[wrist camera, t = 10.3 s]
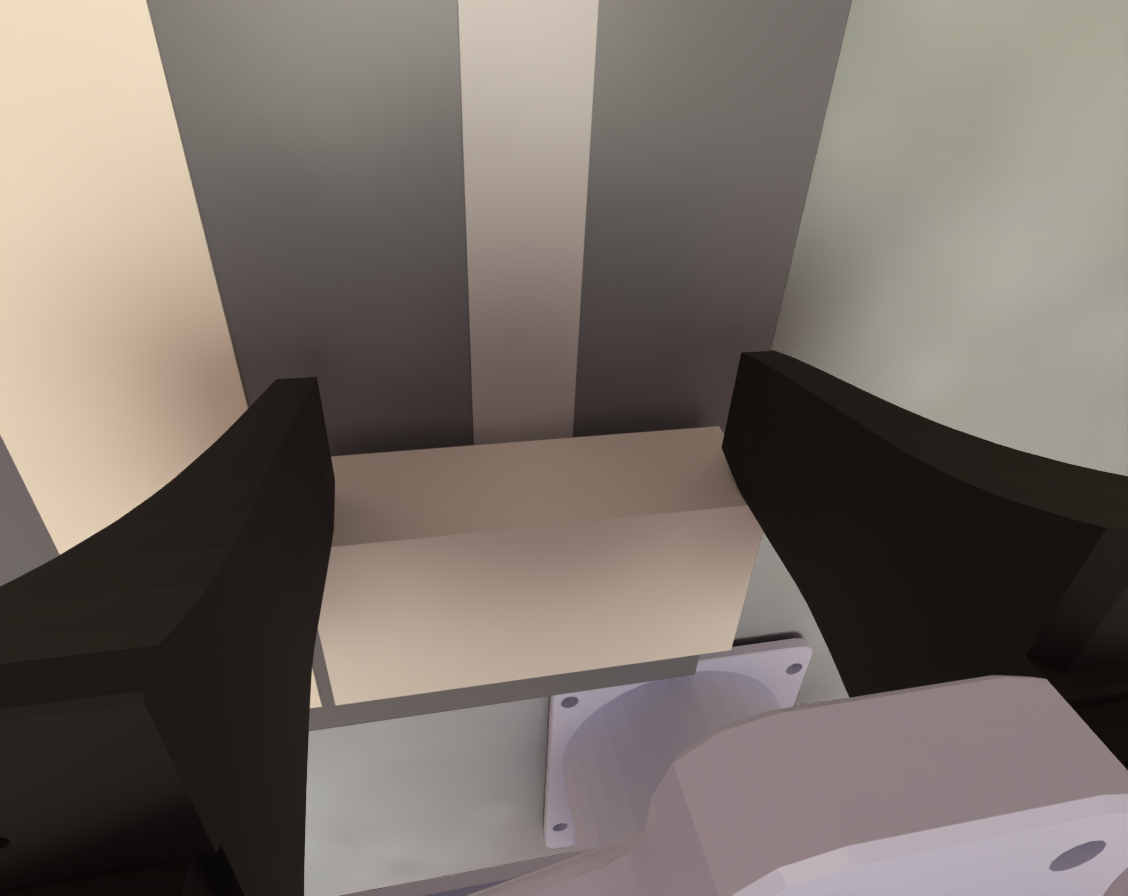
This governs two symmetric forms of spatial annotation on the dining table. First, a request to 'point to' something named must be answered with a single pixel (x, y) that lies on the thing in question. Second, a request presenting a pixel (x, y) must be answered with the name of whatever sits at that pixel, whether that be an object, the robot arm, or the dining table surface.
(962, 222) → the dining table surface
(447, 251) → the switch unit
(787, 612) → the dining table surface
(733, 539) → the slider
